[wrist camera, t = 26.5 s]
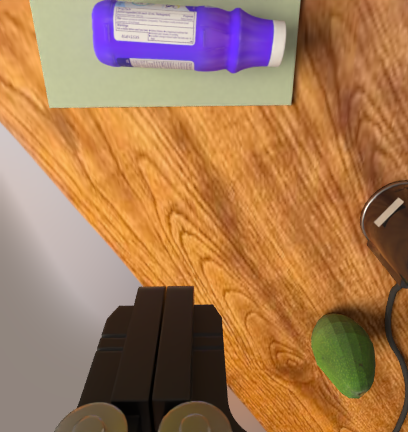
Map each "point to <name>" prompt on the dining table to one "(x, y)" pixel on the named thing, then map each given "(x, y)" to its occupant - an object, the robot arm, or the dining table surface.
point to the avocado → (344, 354)
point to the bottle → (184, 37)
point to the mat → (153, 77)
